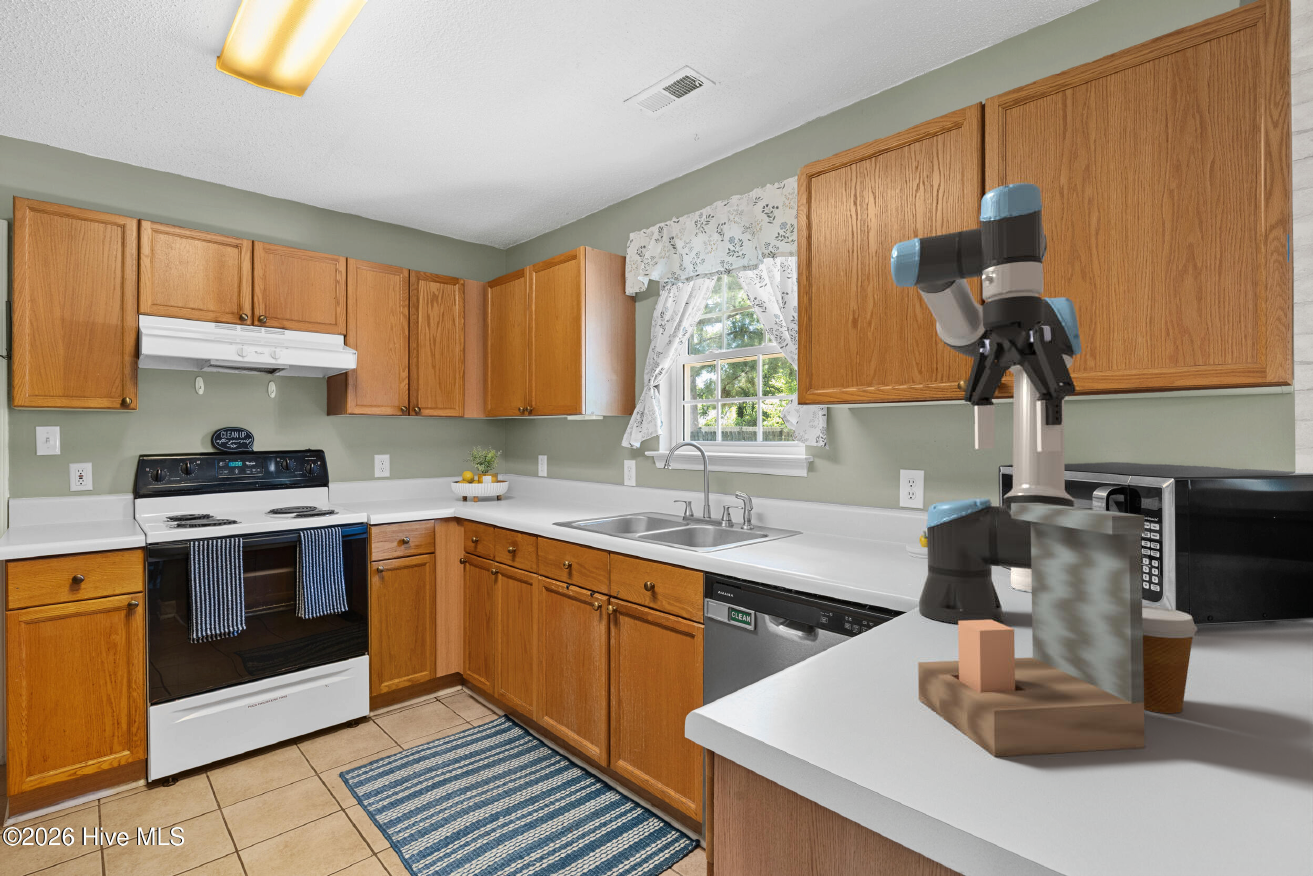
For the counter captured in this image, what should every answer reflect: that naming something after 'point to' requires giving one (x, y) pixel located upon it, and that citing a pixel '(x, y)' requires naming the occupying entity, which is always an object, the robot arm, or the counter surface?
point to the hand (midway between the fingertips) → (1014, 450)
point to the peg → (986, 656)
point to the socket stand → (1064, 644)
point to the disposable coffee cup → (1165, 657)
